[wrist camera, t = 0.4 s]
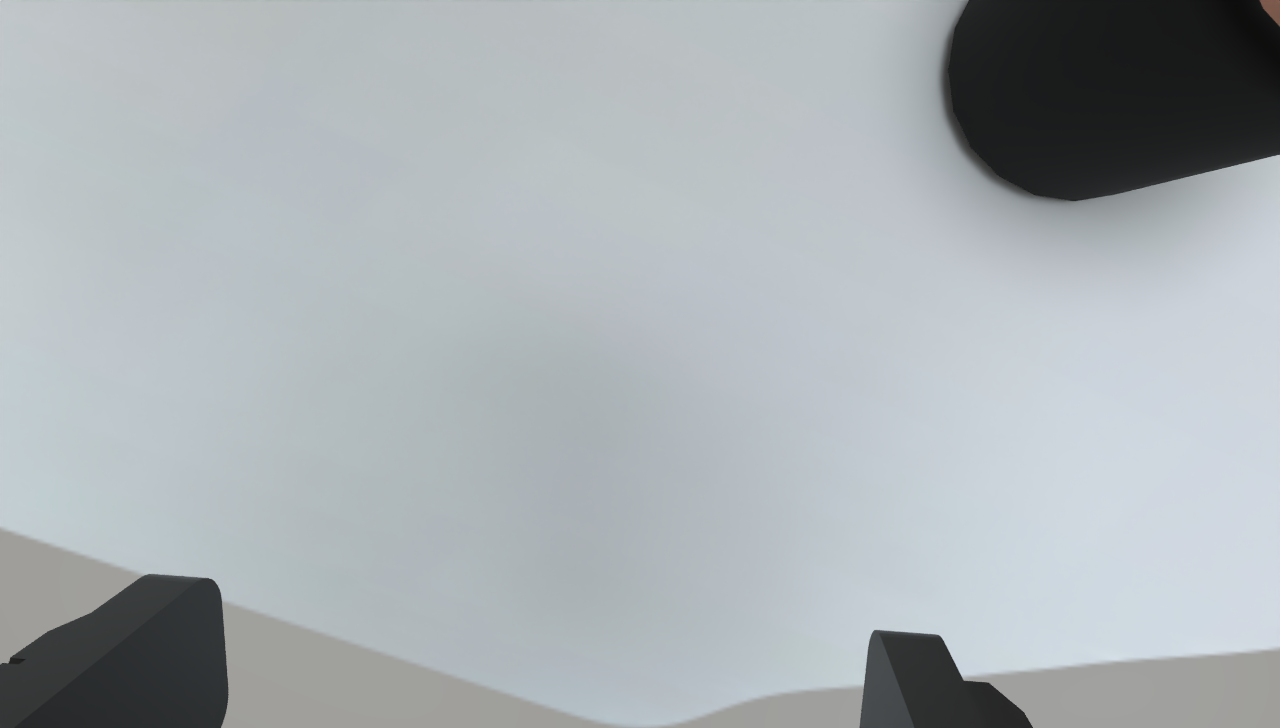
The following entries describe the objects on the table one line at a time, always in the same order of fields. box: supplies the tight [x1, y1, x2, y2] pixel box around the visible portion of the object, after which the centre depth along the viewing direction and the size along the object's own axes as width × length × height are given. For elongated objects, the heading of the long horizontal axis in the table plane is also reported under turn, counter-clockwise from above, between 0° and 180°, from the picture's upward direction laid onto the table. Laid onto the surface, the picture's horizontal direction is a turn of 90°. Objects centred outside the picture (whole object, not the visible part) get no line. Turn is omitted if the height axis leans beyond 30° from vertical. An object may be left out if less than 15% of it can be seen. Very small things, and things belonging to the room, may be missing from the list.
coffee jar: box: [948, 0, 1280, 201], centre depth 27 cm, size 11×11×18 cm
